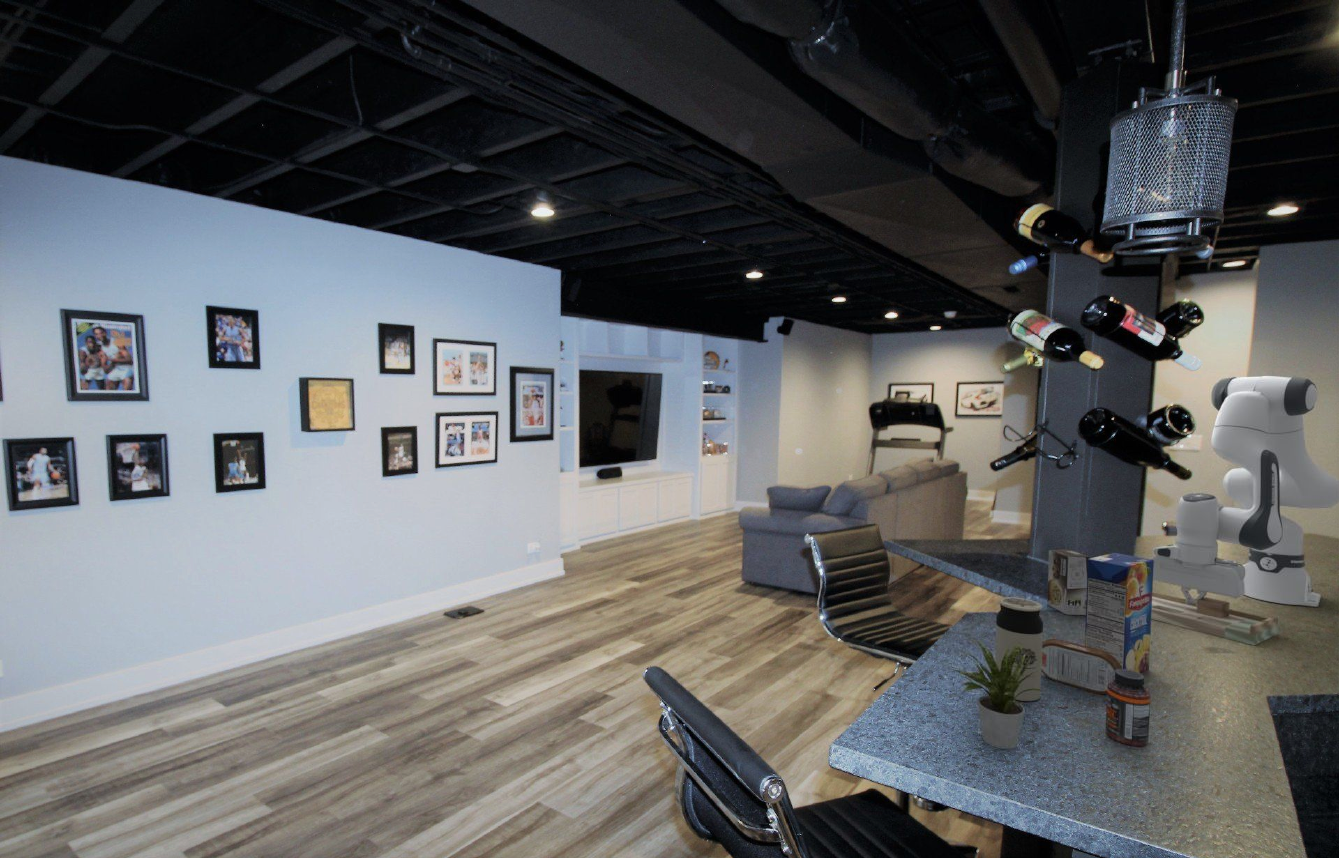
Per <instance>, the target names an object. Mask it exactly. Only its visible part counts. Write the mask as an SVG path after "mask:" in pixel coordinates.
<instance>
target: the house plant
mask: <svg viewBox="0 0 1339 858" xmlns="http://www.w3.org/2000/svg"><path fill="white" fill-rule="evenodd" d="M972 640H974V642H975V643H976V644H977V645H978V646H979V648H980V649H981V651H982V653H983V656H984V659H985V662H986V664H987V666H988V668H989V669H988V668H987V667H986V666H984V665H983V664H982V662H980V660H979V659H977V658H976V657H975V656H974V655H972V654H970V653H969V652H966V651H963V650H958V649H954V648H952V650H953V651H954V650H955V651H958V652H960V653H962V654H963V653H964V654H965V655H964V657H965V658H968V659H970V660H972V659H971V658H973V659H974V661H973V664H974V667H976V669H977V670H978V671H973V672H968V671H965V670H957V669H954V671H955V672H956V673H958V674H959V675H958V674H957V676H958V677H962V678H964V679H967V680H968V681H966V682H964V683H962V684H961V686H959V687H962V686H966V687H965V689H964V690H963V693H965V691H970V690H977V689H979V690H980V691H981V692H982V693H983V694H984V695H980V696H979V697H977V700H976V701H977V707H978V708H977V709H978V715H979V724H980V731H981V739H982V740H983V741H984V742H985V743H986V744H988V745H990V746H992V747H994V748H997V749H1002V750H1012V749H1015V748H1017V745H1018V741H1019V737H1020V732H1021V728H1022V724H1023V719H1024V716H1025V712H1026V710H1025V707H1024V706H1023V705H1022V703H1021V701H1020V702H1018V701H1017V700H1014V699H1015V698H1016V697H1017V696H1018V695H1019V694H1021V693H1023V692H1025V691H1030V690H1038V691H1041V693H1044V691H1043V690H1042V689H1041V690H1040V689H1035V688H1034V689H1027V690H1024V691H1022V692H1020V693H1019V694H1018V695H1017V696H1016V697H1015V698H1014V693H1015V691H1016V690H1017V689H1018V687H1019V685H1020V683H1021V682H1022V681H1023V680H1025V679H1026V678H1028V677H1029V676H1030V675H1031V674H1033V673H1035V672H1037V671H1035V672H1032V673H1030V674H1029V675H1027V676H1026V677H1024V678H1023V679H1021V680H1020V681H1019V682H1018V680H1019V679H1020V677H1021V676H1022V674H1023V673H1024V671H1025V670H1026V668H1027V666H1028V664H1029V662H1030V660H1031V659H1030V660H1029V661H1028V662H1027V663H1026V664H1025V665H1024V667H1023V668H1022V670H1021V672H1020V673H1019V674H1017V673H1018V671H1019V669H1020V667H1021V666H1022V664H1023V661H1024V658H1025V655H1026V653H1025V654H1024V655H1023V657H1022V658H1021V660H1020V662H1019V664H1018V666H1017V667H1016V669H1015V671H1014V673H1013V675H1012V676H1011V673H1012V668H1013V664H1014V662H1015V659H1016V657H1017V655H1018V653H1019V651H1020V650H1021V649H1020V647H1021V646H1022V643H1021V644H1019V645H1017V646H1016V647H1014V649H1013V650H1012V652H1011V653H1010V655H1009V656H1008V654H1009V649H1008V650H1007V651H1006V653H1005V655H1004V657H1003V659H1002V662H1001V668H1000V671H999V668H998V666H997V664H996V662H995V657H994V655H993V654H992V652H991V651H990V650H989V649H988V648H986V647H985V646H984V645H983V644H981V643H980V642H979V641H978V640H976V639H974V638H972ZM960 655H961V654H960ZM966 655H967V656H966ZM961 656H962V657H963V655H961ZM970 657H971V658H970ZM1038 671H1039V670H1038ZM985 674H986V675H985ZM987 677H988V678H987ZM975 682H976V683H975ZM1017 682H1018V683H1017ZM983 686H984V687H983ZM985 688H986V689H985ZM982 689H983V690H982ZM984 691H985V693H984ZM986 693H987V694H986ZM1044 694H1045V693H1044ZM1045 695H1046V694H1045Z"/></svg>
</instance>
